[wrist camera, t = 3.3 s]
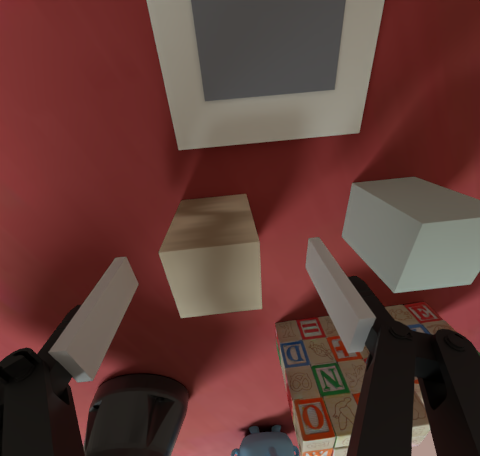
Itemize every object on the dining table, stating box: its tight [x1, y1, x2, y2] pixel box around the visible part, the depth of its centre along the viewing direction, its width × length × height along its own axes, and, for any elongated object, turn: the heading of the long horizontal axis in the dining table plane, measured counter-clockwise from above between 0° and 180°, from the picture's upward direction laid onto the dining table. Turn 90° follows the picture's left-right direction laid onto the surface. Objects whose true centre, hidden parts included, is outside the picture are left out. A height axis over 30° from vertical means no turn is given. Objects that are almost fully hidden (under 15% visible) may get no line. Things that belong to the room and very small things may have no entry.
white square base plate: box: [146, 0, 385, 150], centre depth 13 cm, size 14×15×1 cm
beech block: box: [158, 194, 262, 318], centre depth 17 cm, size 6×6×8 cm
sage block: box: [342, 177, 480, 293], centre depth 18 cm, size 6×6×8 cm
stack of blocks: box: [275, 302, 480, 456], centre depth 26 cm, size 21×6×12 cm, turn 98°
